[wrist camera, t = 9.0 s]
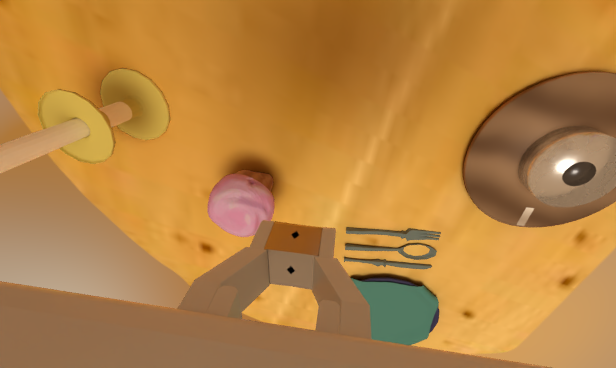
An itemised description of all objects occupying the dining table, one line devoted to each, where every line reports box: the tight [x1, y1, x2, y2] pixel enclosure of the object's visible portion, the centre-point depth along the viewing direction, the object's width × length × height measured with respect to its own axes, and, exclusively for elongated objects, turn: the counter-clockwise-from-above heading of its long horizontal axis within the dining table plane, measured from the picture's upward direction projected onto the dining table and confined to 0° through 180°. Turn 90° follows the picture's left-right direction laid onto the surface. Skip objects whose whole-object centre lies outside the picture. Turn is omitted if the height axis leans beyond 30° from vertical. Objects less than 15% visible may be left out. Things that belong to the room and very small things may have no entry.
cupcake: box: [208, 170, 274, 237], centre depth 38 cm, size 9×9×10 cm
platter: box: [463, 72, 616, 227], centre depth 33 cm, size 20×20×1 cm
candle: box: [0, 68, 170, 173], centre depth 27 cm, size 10×10×27 cm
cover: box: [518, 126, 616, 207], centre depth 32 cm, size 9×9×3 cm
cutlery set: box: [344, 227, 441, 345], centre depth 50 cm, size 20×30×2 cm, turn 1°
